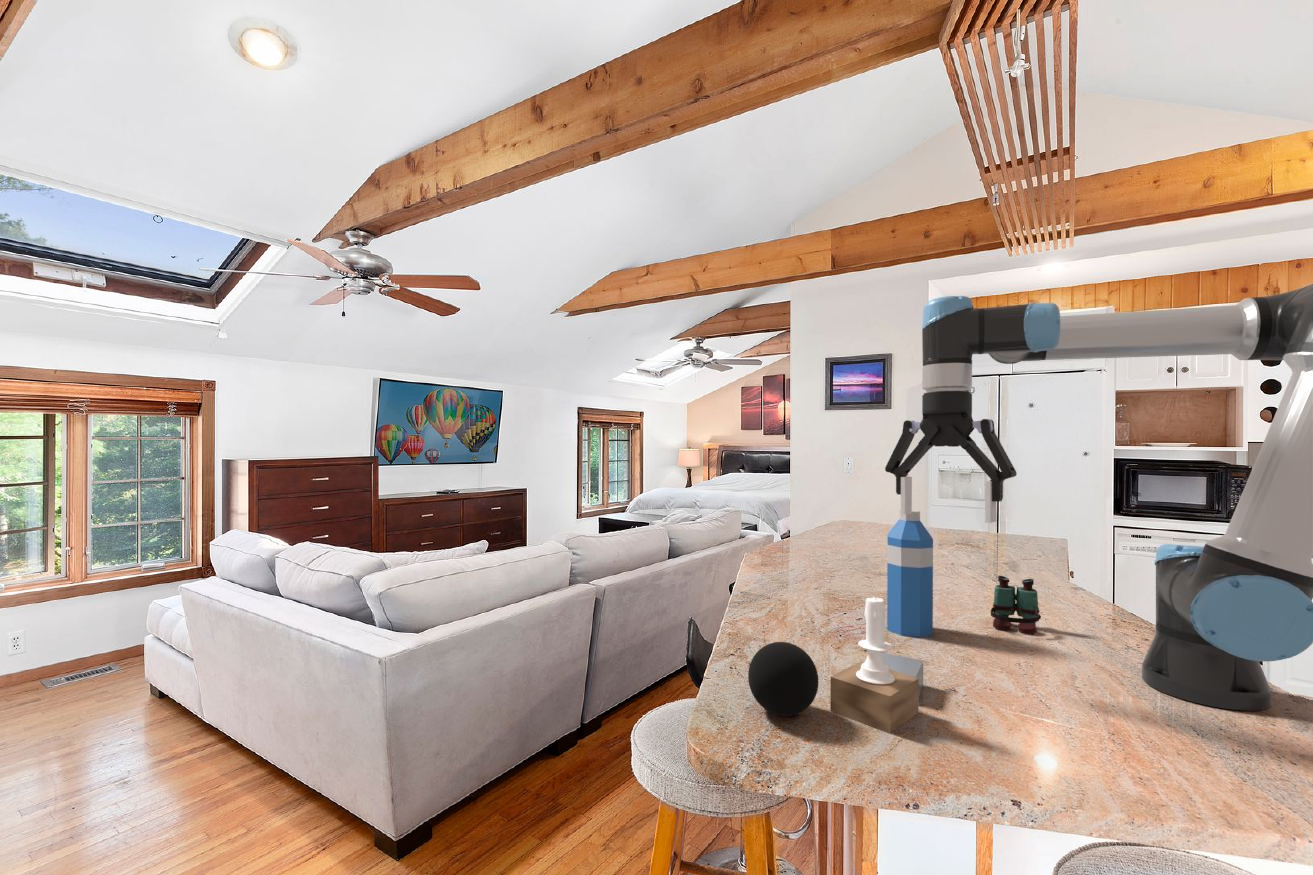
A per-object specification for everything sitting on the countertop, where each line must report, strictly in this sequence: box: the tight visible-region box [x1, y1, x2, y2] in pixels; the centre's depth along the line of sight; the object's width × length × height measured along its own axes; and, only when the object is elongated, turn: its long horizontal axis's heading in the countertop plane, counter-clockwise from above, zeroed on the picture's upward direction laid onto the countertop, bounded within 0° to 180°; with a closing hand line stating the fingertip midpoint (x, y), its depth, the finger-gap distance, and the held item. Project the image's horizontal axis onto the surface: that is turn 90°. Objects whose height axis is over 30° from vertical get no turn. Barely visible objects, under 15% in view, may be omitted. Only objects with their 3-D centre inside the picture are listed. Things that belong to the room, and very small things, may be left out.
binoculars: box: [990, 575, 1042, 635], centre depth 125 cm, size 9×11×10 cm
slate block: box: [863, 652, 924, 695], centre depth 95 cm, size 8×8×4 cm
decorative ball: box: [747, 641, 819, 717], centre depth 87 cm, size 10×10×10 cm
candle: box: [856, 594, 895, 685], centre depth 87 cm, size 5×5×12 cm
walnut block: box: [829, 661, 920, 734], centre depth 87 cm, size 9×9×5 cm
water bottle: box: [886, 509, 934, 638], centre depth 124 cm, size 9×9×25 cm
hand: (946, 517), depth 100 cm, fingers open, 13 cm apart
